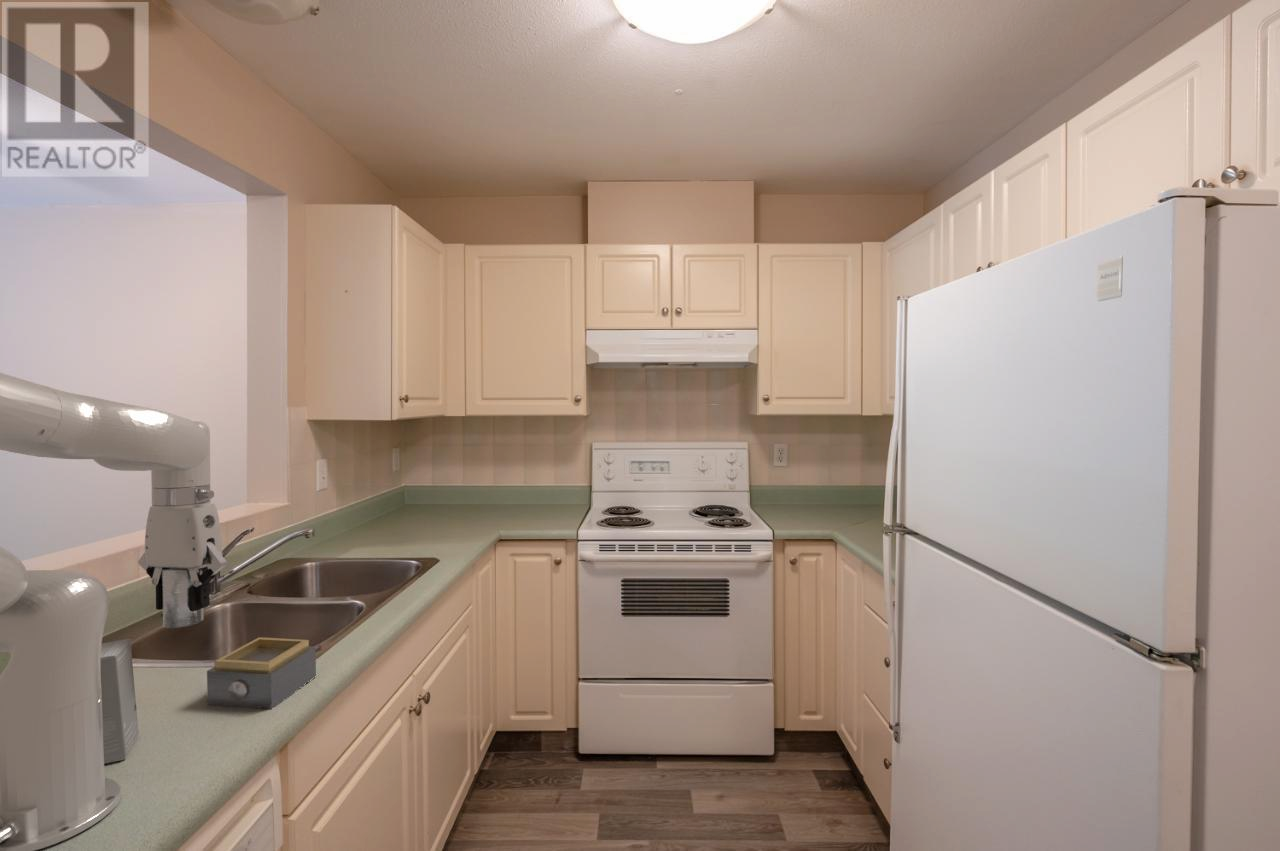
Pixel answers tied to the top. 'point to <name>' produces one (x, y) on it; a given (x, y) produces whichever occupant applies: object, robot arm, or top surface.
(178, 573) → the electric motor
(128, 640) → the skincare box
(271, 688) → the grey gold trimmed box
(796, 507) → the top surface
